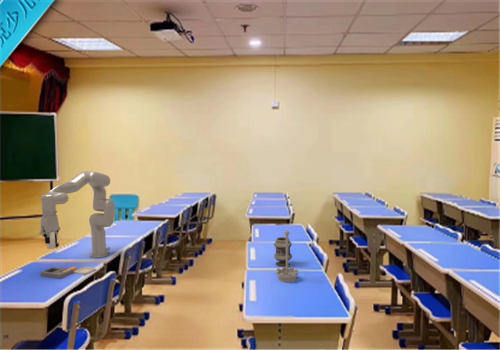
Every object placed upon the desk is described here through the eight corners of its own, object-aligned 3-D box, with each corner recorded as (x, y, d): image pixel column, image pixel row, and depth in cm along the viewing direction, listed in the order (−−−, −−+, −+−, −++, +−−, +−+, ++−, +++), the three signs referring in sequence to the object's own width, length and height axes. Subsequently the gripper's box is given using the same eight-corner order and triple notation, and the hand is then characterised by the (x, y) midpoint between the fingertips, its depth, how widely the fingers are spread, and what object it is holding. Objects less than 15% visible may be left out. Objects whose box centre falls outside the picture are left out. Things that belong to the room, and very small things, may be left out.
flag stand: (297, 283, 219) (297, 233, 216) (274, 282, 222) (274, 232, 219) (298, 275, 232) (298, 228, 229) (277, 274, 234) (277, 227, 231)
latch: (73, 270, 244) (73, 266, 244) (76, 270, 243) (76, 267, 243) (61, 275, 235) (60, 271, 234) (64, 275, 234) (64, 272, 233)
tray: (84, 269, 247) (84, 266, 247) (95, 270, 244) (95, 268, 244) (73, 273, 239) (73, 271, 238) (85, 275, 235) (84, 273, 235)
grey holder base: (54, 271, 243) (53, 267, 243) (73, 274, 238) (73, 269, 237) (40, 276, 233) (40, 272, 233) (60, 279, 228) (60, 275, 228)
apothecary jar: (270, 263, 256) (270, 237, 254) (286, 260, 261) (286, 235, 259) (279, 268, 245) (279, 241, 243) (295, 265, 250) (295, 239, 248)
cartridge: (52, 246, 239) (51, 228, 238) (57, 247, 237) (56, 229, 235) (45, 248, 234) (44, 230, 233) (50, 249, 232) (49, 231, 231)
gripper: (55, 211, 243) (57, 238, 244) (32, 216, 227) (34, 245, 229) (64, 211, 240) (66, 239, 242) (42, 216, 224) (44, 246, 226)
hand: (51, 242), depth 235 cm, fingers closed on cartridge, 4 cm apart
